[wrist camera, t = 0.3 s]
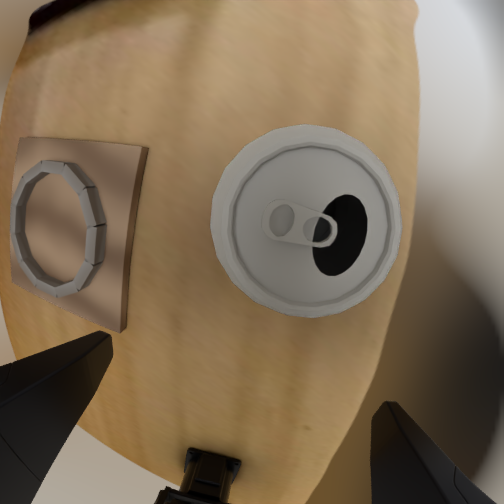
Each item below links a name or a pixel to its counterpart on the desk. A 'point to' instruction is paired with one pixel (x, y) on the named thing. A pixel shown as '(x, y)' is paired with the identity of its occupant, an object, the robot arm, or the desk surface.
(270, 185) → the can
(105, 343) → the robot arm
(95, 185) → the collar board
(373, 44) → the desk surface
